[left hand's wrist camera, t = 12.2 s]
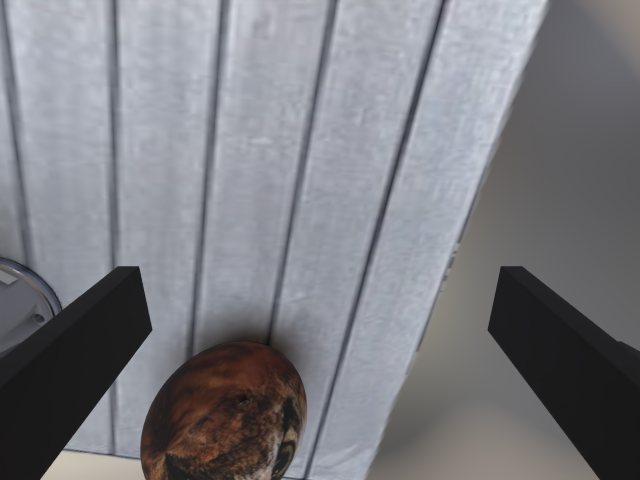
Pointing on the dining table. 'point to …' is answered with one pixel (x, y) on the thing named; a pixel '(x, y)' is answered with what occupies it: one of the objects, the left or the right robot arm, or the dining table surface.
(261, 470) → the cat face balloon
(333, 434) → the dining table surface
